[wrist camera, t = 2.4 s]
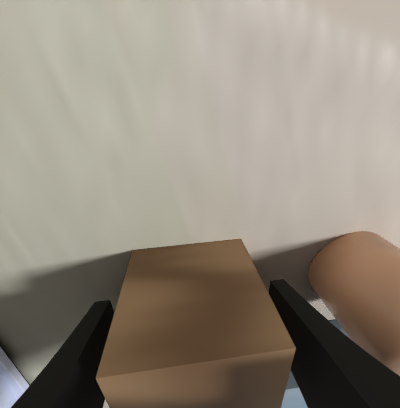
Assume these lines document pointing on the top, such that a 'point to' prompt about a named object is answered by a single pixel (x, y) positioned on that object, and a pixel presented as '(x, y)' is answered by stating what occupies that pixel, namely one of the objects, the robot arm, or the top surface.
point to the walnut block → (195, 332)
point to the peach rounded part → (362, 291)
